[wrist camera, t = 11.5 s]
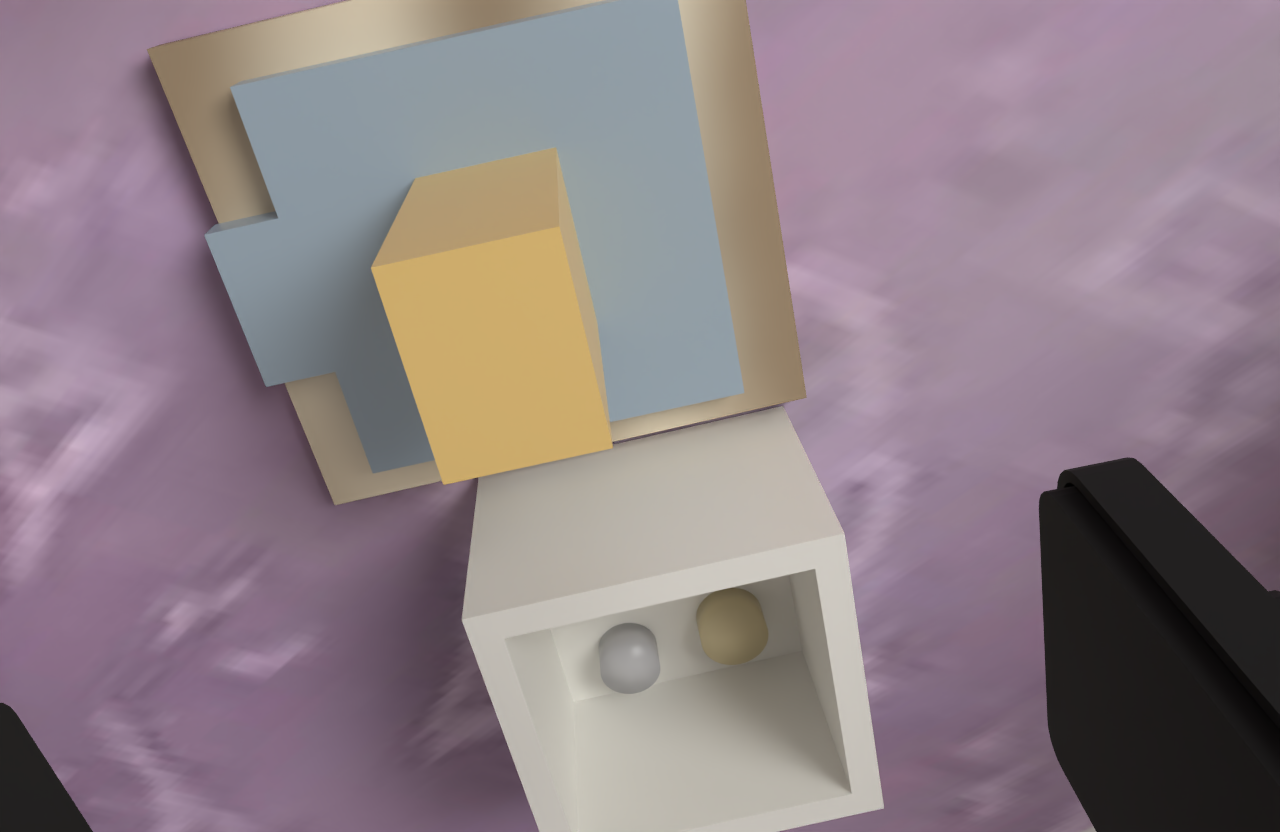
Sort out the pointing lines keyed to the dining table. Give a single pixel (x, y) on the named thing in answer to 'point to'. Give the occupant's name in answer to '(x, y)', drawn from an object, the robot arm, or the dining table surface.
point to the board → (452, 3)
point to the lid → (488, 238)
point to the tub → (674, 635)
